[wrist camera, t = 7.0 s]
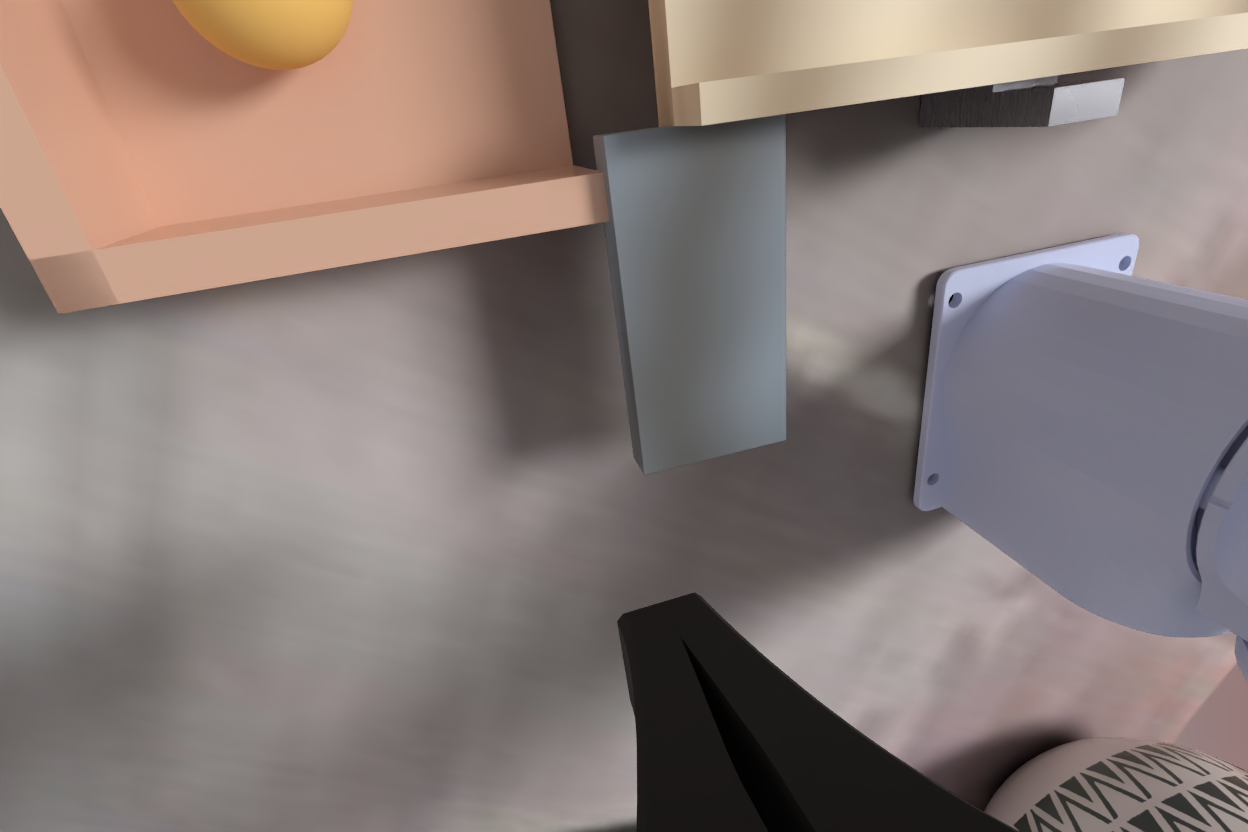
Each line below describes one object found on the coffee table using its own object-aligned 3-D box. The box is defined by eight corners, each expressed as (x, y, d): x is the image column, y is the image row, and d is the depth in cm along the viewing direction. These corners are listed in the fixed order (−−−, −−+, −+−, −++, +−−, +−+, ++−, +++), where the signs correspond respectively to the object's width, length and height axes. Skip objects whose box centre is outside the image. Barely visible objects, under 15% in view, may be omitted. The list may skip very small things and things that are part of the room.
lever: (1461, -327, 14) (1694, -430, 12) (1246, 308, 21) (1363, 334, 18) (532, -331, 10) (566, -491, 8) (633, 457, 17) (670, 517, 14)
